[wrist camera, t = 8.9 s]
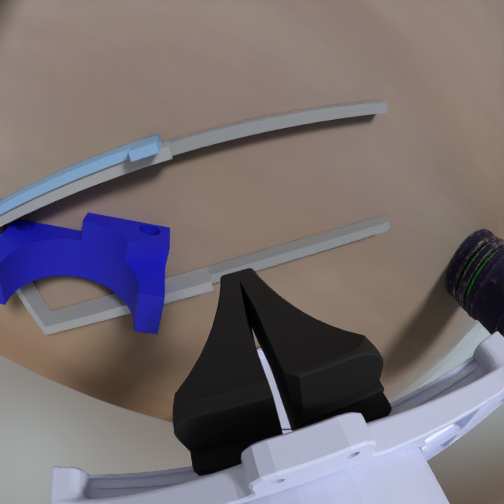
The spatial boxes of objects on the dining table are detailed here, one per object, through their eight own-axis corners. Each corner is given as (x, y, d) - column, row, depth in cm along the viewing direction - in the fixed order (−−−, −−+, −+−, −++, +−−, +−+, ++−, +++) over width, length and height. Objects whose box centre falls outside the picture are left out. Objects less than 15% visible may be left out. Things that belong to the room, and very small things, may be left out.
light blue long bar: (162, 142, 18) (159, 152, 15) (-5, 211, 17) (-25, 231, 14) (159, 133, 18) (156, 142, 15) (-8, 204, 17) (-29, 223, 14)
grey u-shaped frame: (382, 223, 25) (394, 234, 24) (51, 319, 23) (45, 335, 21) (377, 100, 20) (393, 103, 18) (-9, 213, 17) (-21, 225, 15)
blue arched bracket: (169, 226, 21) (169, 275, 16) (158, 278, 23) (157, 334, 18) (16, 199, 17) (-23, 238, 12) (17, 252, 19) (-13, 299, 14)
